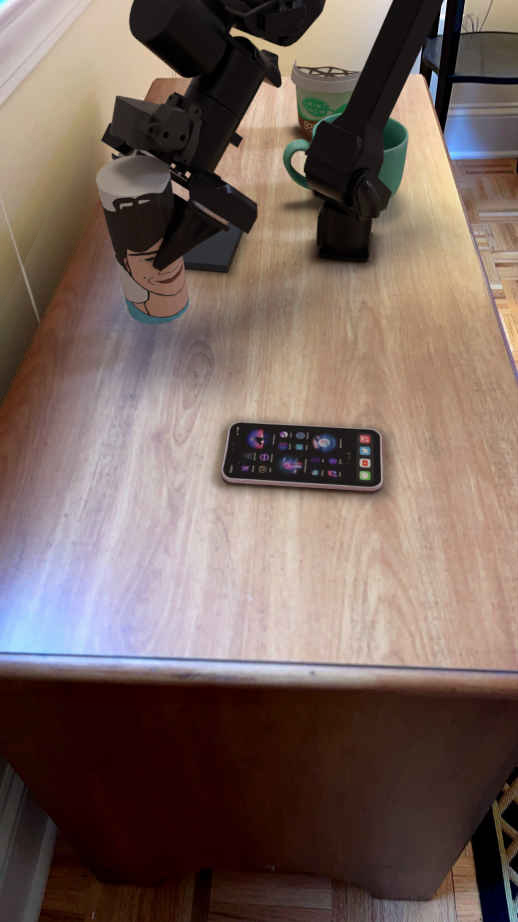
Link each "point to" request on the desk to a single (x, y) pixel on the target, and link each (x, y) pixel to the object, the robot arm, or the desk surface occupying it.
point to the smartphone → (303, 456)
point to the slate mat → (214, 251)
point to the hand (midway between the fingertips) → (136, 253)
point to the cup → (142, 236)
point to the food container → (321, 93)
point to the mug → (392, 145)
